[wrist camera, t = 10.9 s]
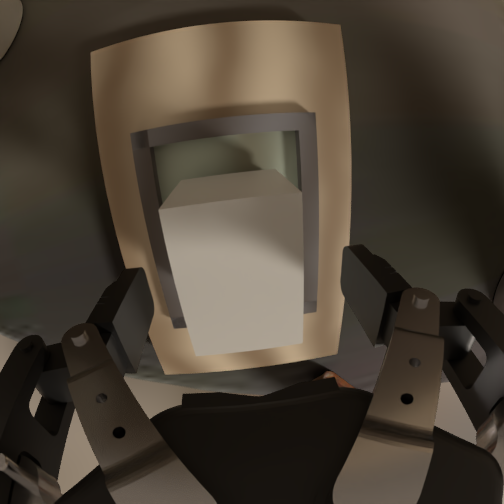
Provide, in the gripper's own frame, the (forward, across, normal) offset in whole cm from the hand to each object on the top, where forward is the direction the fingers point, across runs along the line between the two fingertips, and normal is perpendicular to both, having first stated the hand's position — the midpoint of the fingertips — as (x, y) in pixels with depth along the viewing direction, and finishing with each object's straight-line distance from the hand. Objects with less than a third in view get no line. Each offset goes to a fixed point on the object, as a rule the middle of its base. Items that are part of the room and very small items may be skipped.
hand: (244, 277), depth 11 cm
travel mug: (+10, +20, -20) cm, 31 cm away
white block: (+6, 0, 0) cm, 7 cm away
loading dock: (+10, 0, 0) cm, 10 cm away
